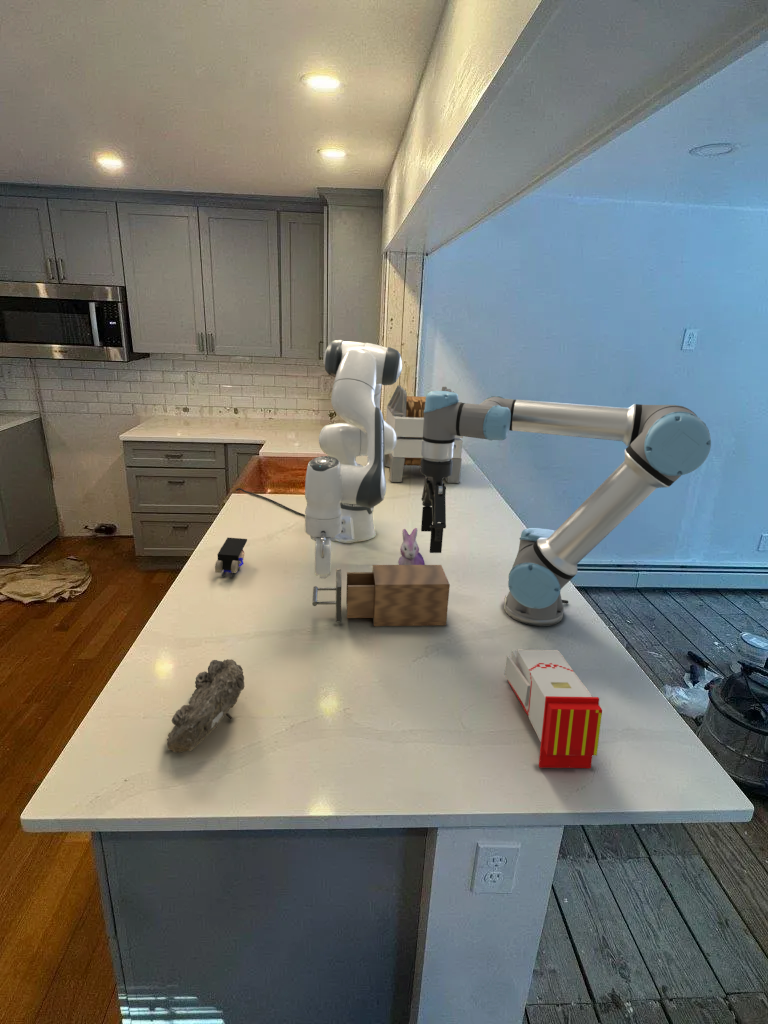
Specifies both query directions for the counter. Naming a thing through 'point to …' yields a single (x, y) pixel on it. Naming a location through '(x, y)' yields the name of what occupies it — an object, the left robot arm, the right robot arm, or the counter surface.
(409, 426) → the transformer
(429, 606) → the cabinet
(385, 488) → the left robot arm
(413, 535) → the figurine
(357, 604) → the drawer
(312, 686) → the counter surface
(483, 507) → the counter surface
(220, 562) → the figurine character
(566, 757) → the toy
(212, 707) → the fossil
